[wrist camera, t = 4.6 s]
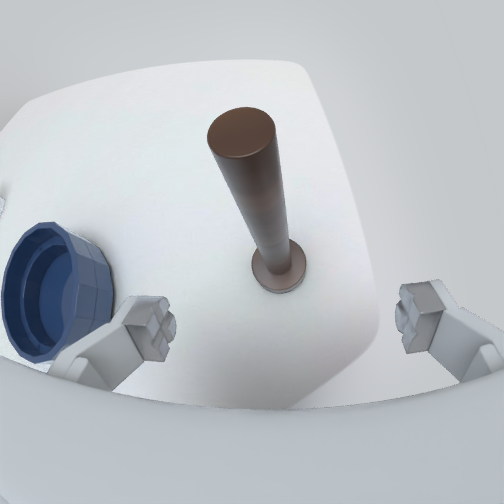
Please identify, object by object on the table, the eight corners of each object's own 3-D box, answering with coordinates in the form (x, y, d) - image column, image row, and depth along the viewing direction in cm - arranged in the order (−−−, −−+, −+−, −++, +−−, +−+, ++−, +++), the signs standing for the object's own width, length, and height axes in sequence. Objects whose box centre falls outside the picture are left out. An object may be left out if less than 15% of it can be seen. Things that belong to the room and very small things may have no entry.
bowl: (139, 311, 26) (101, 304, 20) (64, 383, 25) (27, 387, 19) (85, 216, 30) (53, 195, 24) (24, 289, 29) (-8, 280, 23)
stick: (316, 269, 24) (350, 130, 7) (278, 304, 24) (227, 232, 7) (281, 234, 26) (249, 67, 8) (244, 266, 25) (145, 140, 8)
